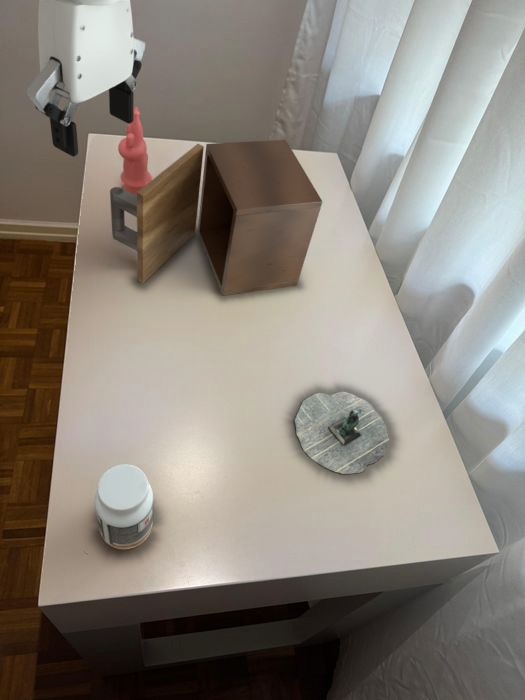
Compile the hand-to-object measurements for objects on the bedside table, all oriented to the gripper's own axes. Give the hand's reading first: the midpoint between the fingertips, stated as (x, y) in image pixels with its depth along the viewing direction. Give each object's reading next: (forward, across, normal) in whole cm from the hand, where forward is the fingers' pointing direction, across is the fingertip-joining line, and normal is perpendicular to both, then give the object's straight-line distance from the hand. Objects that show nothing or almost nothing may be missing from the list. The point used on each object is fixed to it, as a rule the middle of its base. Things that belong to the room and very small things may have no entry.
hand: (94, 133), depth 68 cm
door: (+21, -7, +3) cm, 22 cm away
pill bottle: (+22, +29, +27) cm, 45 cm away
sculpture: (+21, +4, +42) cm, 47 cm away
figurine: (+21, -16, -6) cm, 27 cm away
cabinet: (+21, -15, +16) cm, 30 cm away
